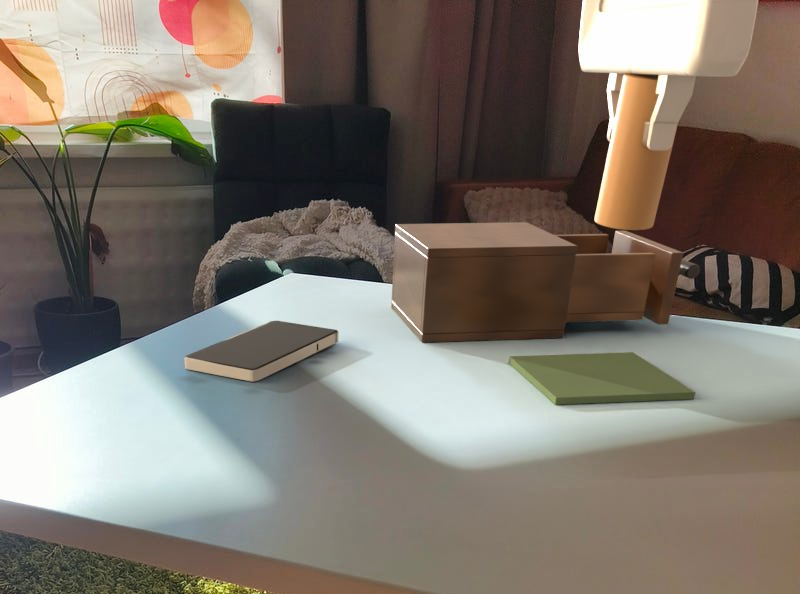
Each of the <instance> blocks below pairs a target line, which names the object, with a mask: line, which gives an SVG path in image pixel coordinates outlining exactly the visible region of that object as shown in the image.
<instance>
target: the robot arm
mask: <svg viewBox="0 0 800 594" xmlns="http://www.w3.org/2000/svg"><path fill="white" fill-rule="evenodd" d="M758 6H759V0H582V5H581V15H580V26H579V38H578V59H579V66H580V70H581V71H582V72H584V73H595V74H596V73H598V74H599V73H601V74H609V75H608V81H607V87H606V94H607V106H608V114H609V122H608V128H607V134H606V139H607V141H608V142H609V143H610V140H611V135H612V130H613V125H614V120H615V115H616V110H617V105H618V100H619V95H620V90H621V85H622V80H623V75H624V74H650V75H659V76H658V82H657V87H656V94H659V96H658V99H657V102H656V105H655V108H654V111H653V114H652V116H651V119H650V121H645V124H644V130H643V137H642V141H641V144H642V147H643V148H644V149H648V150H653V151H666V150H669V149H670V148H671V147H672V148H673V146H674V142H673V141H675V137H674V136H676V133H675V131H676V132H677V129H676V126H677V127H678V125H677V122H678V123H679V121H680V120H681V118H682V116H683V114H684V112H685V110H686V108H687V106H688V105H689V103H690V100H691V99H692V97H693V93H694V88H695V83H696V79H697V77H707V78H709V77H710V78H717V77H718V78H719V77H721V78H723V77H725V78H727V77H728V78H729V77H735V76H736V75H738V73H739V72H740V70H741V69H742V67H743V65H744V63H745V62H746V60H747V58H748V55H749V53H750V49H751V45H752V40H753V34H754V29H755V24H756V18H757V12H758ZM672 145H673V146H672Z"/></svg>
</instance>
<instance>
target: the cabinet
mask: <svg viewBox="0 0 800 594" xmlns="http://www.w3.org/2000/svg"><path fill="white" fill-rule="evenodd" d="M555 235H556V234H552V233H551V232H548V231H546V230H545V229H542V228H540V227H538V226H535V225H534V224H531V223H529V222H527V221H521V222H520V221H519V222H516V221H515V222H514V221H513V222H462V223H461V222H459V223H458V222H455V223H454V222H453V223H451V222H449V223H446V222H445V223H395V225H394V242H393V243H394V245H393V265H392V283H391V284H392V287H391V306H390V307H391V309H392V310H393V312H395V313H396V315H397V316H398V317H399V318H400V319H401V321H403V323H404V324H405V325H406V326H407V327H408V328H409V330H410V331H411V333H413V334H414V335H415V336H416V338H417V339H419V341H420V342H421V343H447V342H449V343H450V342H477V341H478V342H480V341H508V340H509V341H510V340H539V339H540V340H542V339H543V340H544V339H564V337H565V329H566V324H567V322H566V317H567V311H568V304H569V298H570V291H571V285H572V278H573V272H574V265H575V259H576V253H577V245H574V244H572V243H570V242H568V241H566V240H564V239H562V238H559V237H557V236H555Z"/></svg>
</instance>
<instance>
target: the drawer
mask: <svg viewBox="0 0 800 594" xmlns="http://www.w3.org/2000/svg"><path fill="white" fill-rule="evenodd" d="M554 235H555V236H557V237H559V238H562V239H564V240H566V241H568V242H570V243H572V244H574V245H577V253H576V259H575V265H574V272H573V278H572V285H571V291H570V298H569V304H568V311H567V317H566V323H582V322H583V323H585V322H587V323H589V322H621V321H643V319H644V318H645V319H647V320H649V321H651V322H652V323H654V324H656V325H668V324H669V321H670V317H671V312H672V307H673V303H674V298H675V293H676V289H677V284H678V279H679V276H680V275H681V276H683V277H685V278H687V279H690V280H693V279H696V278H697V277H698V276H699V274H700V272H701V269H700V266H699V265H698V264H696V263H693V262H690V261H689V260H686V259H684V258H683V257H684V256H683V255H684V252H683V251H680V250H677V249H675V248H672V247H669V246H667V245H664V244H662V243H659V242H656V241H655V240H652V239H649V238H646V237H643V236H641V235H638V234H636V233H633V232H630V231H628V230H615V232H614V238H613V243H612V249H611V253H610V252H609V253H607V249H608V243H609V237H610V236H609V234H607V233H586V234H585V233H581V234H578V233H577V234H576V233H575V234H554Z"/></svg>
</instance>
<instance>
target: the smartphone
mask: <svg viewBox="0 0 800 594" xmlns="http://www.w3.org/2000/svg"><path fill="white" fill-rule="evenodd" d="M337 343H339V331H338V329H333V328H327V327H321V326H315V325H309V324H301V323H296V322H288V321H282V320H270V321H268V322H266V323H263V324H260V325H258V326H256V327H253V328H251V329H249V330H246V331H243V332H240V333H238V334H236V335H234V336H231V337H228V338H226V339H223V340H221V341H219V342H216V343H214V344H212V345H209V346H207V347H204V348H202V349H199V350H196V351H194V352H191V353H190V354H189V353H188V354H187V355H185V356H184V357H183V358H184V360H183V361H184V369H185V370H189V371H194V372H200V373H205V374H211V375H214V376H220V377H226V378H231V379H237V380H242V381H245V382H253V383H254V382H258V381H261V380H263V379H264V378H267V377H269V376H271V375H273V374H275V373H277V372H279V371H281V370H283V369H285V368H288V367H289V366H292V365H294V364H295V363H298V362H300V361H302V360H304V359H306V358H309V357H310V356H312V355H314V354H316V353H318V352H321V351H322V350H324V349H326V348H329V347H332V346H333V345H334V344H337Z"/></svg>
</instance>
